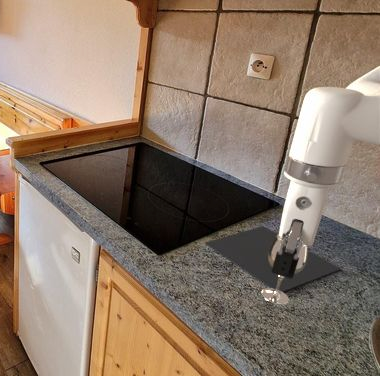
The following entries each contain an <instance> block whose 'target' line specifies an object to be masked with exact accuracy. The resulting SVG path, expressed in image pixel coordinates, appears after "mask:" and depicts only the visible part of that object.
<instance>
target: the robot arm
mask: <svg viewBox="0 0 380 376" xmlns="http://www.w3.org/2000/svg"><path fill="white" fill-rule="evenodd" d="M354 143H365V144H370V145H375V146H380V65H379V66H377V67H375V68H374V69H372V70H370V71H368V72H367V73H365V74H364V75H362V76H361V77H359V78H357V79H356V80H354V81H352V82H351V83H350V84H349V85H347V87H338V86H319V87H313V88H312V89H310V90H309V91H307V93H306V94H305V96H304V99H303V102H302V104H301V109H300V113H299V116H298V120H297V123H296V127H295V130H294V135H293V138H292V142H291V146H290V150H289V153H288V157H287V160H286V164H285V167H284V172H283V175H284V176H285V178H287V179H288V180H290V182H289V186H288V188H287V189H288V190H287V194H286V197H285V201H284V205H283V209H282V215H281V220H280V224H279V225H280V226H279V232H278V234H279V237H280V238H281V239H282V243H281V246H280V249H279V252H278V251H277V254H276V257H275V261H274V264H273V267H272V273H274V274H277V275H280V276H283V277H287V278H290V279H292V278H293V276H294V273H295V270H296V267H297V264H298V260H299V258H298V255H299V252H300V248H301V245H302V242H303V243H304V244H305V245H308V247H312V246H313V245H314V242H315V239H316V235H317V233H318V229H319V226H320V224H321V220H322V217H323V214H324V211H325V208H326V204H327V201H328V197H329V193H330V190H331V189H332V188H336V187H338V186H340V184H341V181H342V179H343V175H344V172H345V169H346V166H347V163H348V160H349V157H350V155H351V153H352V152H351V151H352V149H353V145H354ZM287 234H290V235H289V237H286V235H287ZM282 237H283V238H282ZM298 237H301V238H300V240H298ZM286 241H288V242H287V245H285V242H286ZM296 244H298V245H297V248H295V247H296ZM284 245H285V246H284Z"/></svg>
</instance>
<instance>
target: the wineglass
mask: <svg viewBox="0 0 380 376" xmlns="http://www.w3.org/2000/svg"><path fill="white" fill-rule="evenodd" d="M277 234H278V235H277V236H276V238H275V239H274V241H273V243H272V244H271V246H270V249H269V252H268V262H269V264H270V265H271V267H273V264H274V261H275V257H276V254H277V251H278V252H279V249H280V246H281V243H282V239H281V238H280V237H279V233H277ZM289 235H290V234H287V235H286V237H289ZM282 238H283V237H282ZM300 238H301V237H298V240H300ZM287 242H288V241H286V242H285V245H287ZM285 245H284V246H285ZM297 245H298V244H296V247H295V248H297ZM308 251H309V246H308V245H305V244H304V243H303V242H302V245H301V248H300V252H299V255H298V258H299V260H298V264H297V267H296V270H295V273H294V274H296V273H299V272H300V271H302V270H303V268H304V267H305V265H306V262H307V258H308ZM283 279H284V277H283V276H280V275H278V283H277V286H276V289H273V288H269V287H266V288H263V289H262V290H261V296H262V298H263V299H264V300H266V301H268V302H269V303H271V304H275V305H279V306H283V305H284V306H285V305H287V304H288V303H289V302H290V298H289V296H288V295H287V294H286V292H284V293H283V292H282V291H280V290H279V287H280V284H281V281H282V280H283Z"/></svg>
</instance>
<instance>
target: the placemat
mask: <svg viewBox="0 0 380 376" xmlns="http://www.w3.org/2000/svg"><path fill="white" fill-rule="evenodd" d="M278 234H279V233H277V232H275V231H273V230H271V229H269V228H267V227H266V226H264V225H262V226H258V227H255V228H250V229H247V230H244V231H240V232H236V233H234V234H229V235H226V236H222V237H219V238H216V239H213V240H209V241H205V242H204V244H205V246H207V247H209V248H210V249H212V250H213V251H215V252H216V253H218V254H219V255H221V256H222V257H224V258H225V259H227V260H228V261H229V262H230V263H233V264H234V265H235V266H237V267H238V268H240V269H241V270H243V271H244V272H245V273H247V274H249V275H250V276H251V277H253V278H255V279H256V280H258V281H259V282H260V283H261V284H264V285H265V286H266V287H267V288H273V289H276V286H277V283H278V275H277V274H274V273H272V267H271V265H270V264H269V262H268V252H269V249H270V246H271V244H272V243H273V241H274V239H275V238H276V236H277V235H278ZM340 271H342V268H341V267H339V266H338V265H335V264H333V262H330V261H328V260H326V259H325V258H322V256H319V255H317V254H316V253H314V252H311V251H310V250H308V258H307V262H306V265H305V267H304V268H303V270H302V271H300V272H299V273H296V274H294V276H293V278H292V279H290V278H287V277H284V279H283V280H282V281H281V284H280V287H279V290H280V291H282V292H283V293H286V292H288V291H291V290H294V289H297V288H299V287H301V286H304V285H306V284H310V283H311V282H314V281H317V280H319V279H321V278H322V279H323V278H324V277H327V276H330V275H332V274H335V273H337V272H340Z"/></svg>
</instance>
